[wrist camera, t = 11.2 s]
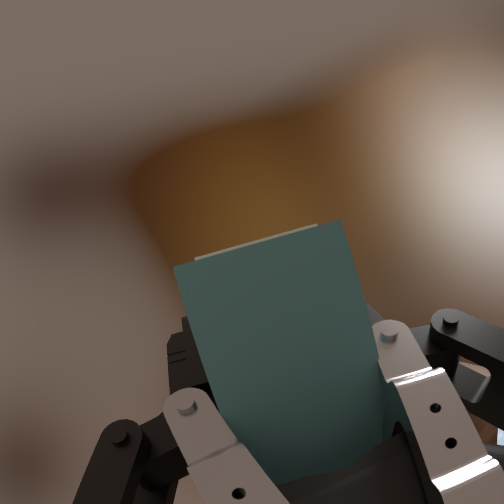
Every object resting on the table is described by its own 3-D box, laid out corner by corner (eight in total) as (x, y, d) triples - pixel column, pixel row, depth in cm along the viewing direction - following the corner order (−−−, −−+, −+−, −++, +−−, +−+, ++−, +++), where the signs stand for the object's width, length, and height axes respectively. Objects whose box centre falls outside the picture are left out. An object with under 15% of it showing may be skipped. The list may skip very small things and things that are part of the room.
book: (270, 349, 27) (247, 273, 28) (398, 461, 7) (338, 215, 7) (227, 362, 27) (203, 286, 27) (263, 517, 6) (171, 262, 7)
